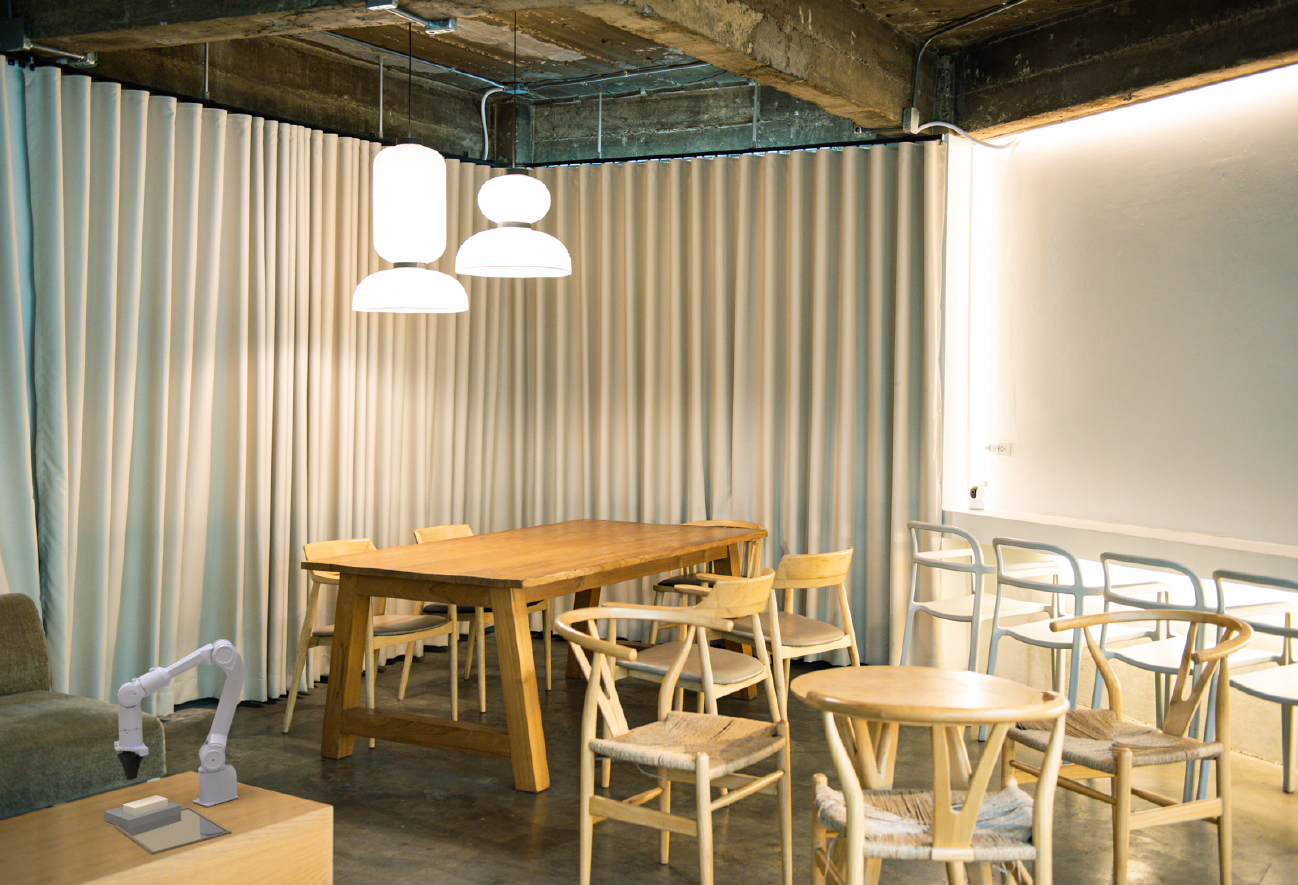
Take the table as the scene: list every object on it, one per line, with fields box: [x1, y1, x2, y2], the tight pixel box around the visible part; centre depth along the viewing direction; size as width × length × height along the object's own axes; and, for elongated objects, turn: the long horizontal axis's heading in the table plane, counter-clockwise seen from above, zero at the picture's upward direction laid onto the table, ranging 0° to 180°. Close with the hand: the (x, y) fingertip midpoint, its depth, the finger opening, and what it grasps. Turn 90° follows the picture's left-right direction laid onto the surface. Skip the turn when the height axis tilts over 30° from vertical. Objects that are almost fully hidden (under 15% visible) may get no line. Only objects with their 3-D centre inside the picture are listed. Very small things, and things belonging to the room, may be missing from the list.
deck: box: [103, 800, 182, 829], centre depth 282 cm, size 14×13×2 cm
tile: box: [122, 794, 169, 816], centre depth 281 cm, size 9×6×2 cm, turn 143°
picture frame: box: [113, 806, 232, 855], centre depth 271 cm, size 19×1×28 cm
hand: (131, 778), depth 285 cm, fingers closed
